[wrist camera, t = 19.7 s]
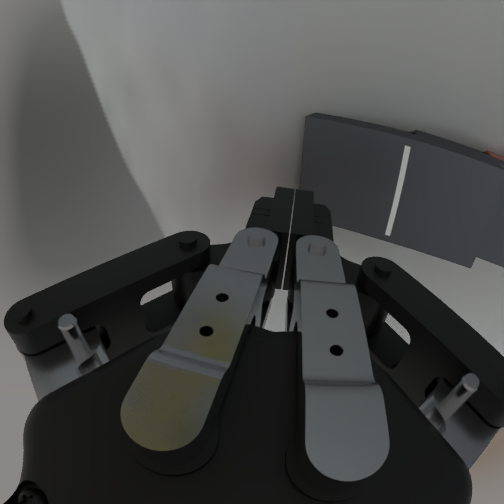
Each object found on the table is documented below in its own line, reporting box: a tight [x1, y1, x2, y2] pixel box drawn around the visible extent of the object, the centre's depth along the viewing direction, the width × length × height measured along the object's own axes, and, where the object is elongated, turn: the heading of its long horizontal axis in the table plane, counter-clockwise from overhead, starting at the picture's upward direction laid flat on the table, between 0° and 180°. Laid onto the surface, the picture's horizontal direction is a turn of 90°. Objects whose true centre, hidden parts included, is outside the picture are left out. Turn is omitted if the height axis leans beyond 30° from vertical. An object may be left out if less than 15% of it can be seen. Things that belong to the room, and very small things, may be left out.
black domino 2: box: [415, 130, 504, 267], centre depth 15 cm, size 2×6×11 cm
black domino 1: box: [300, 113, 504, 268], centre depth 16 cm, size 2×6×11 cm
